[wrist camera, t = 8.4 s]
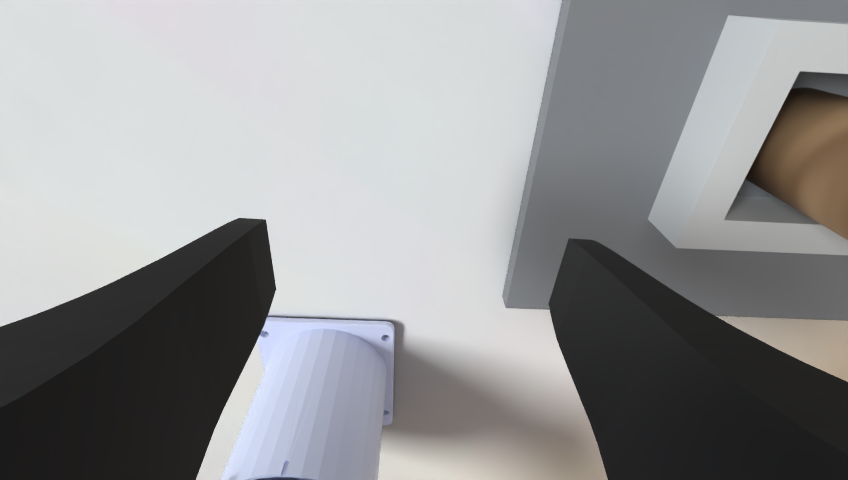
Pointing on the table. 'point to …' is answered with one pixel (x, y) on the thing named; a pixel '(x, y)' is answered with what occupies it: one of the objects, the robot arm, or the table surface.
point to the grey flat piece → (681, 152)
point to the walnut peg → (808, 157)
